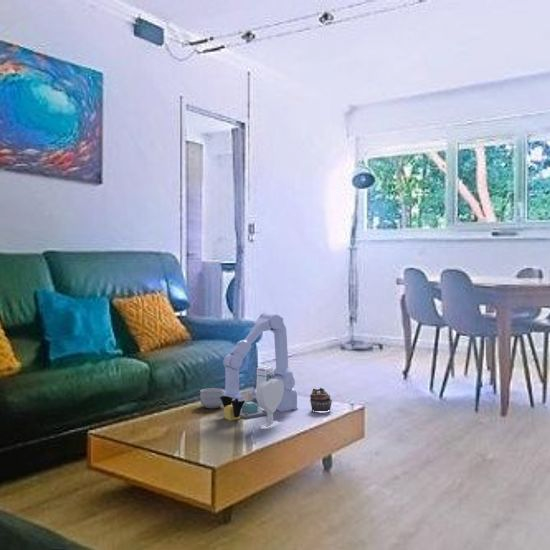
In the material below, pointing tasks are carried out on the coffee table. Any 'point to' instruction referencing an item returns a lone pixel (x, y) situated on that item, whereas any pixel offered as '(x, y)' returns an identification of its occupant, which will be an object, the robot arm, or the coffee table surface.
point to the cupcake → (320, 400)
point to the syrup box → (264, 374)
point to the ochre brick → (229, 413)
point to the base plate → (255, 414)
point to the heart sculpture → (270, 397)
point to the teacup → (211, 397)
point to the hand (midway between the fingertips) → (232, 414)
